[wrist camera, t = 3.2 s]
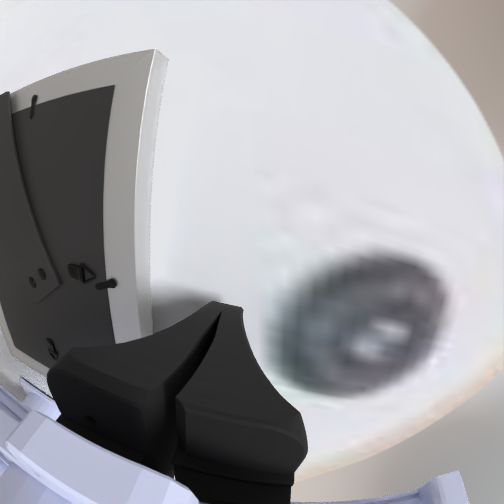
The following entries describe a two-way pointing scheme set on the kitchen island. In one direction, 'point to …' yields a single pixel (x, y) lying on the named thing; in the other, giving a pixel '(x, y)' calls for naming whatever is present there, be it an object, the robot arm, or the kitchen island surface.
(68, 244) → the picture frame
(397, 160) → the kitchen island surface
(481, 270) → the kitchen island surface
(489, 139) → the kitchen island surface
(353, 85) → the kitchen island surface
